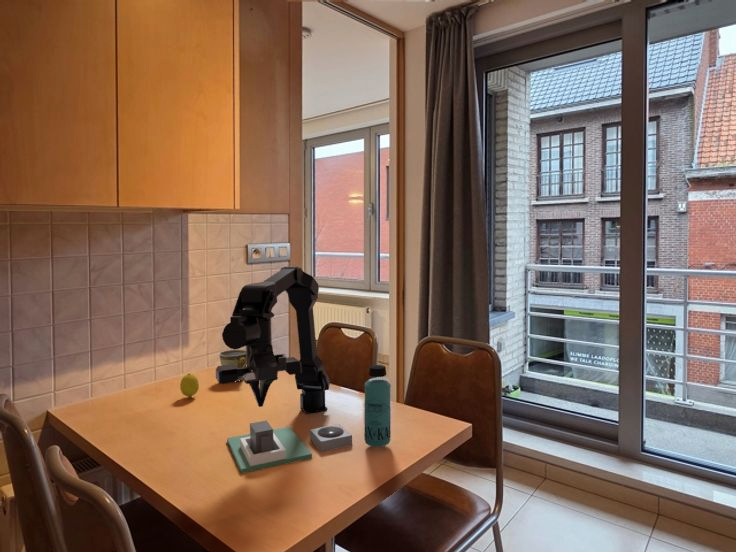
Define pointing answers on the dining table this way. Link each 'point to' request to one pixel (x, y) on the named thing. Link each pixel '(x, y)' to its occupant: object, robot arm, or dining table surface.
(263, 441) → the plug
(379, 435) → the beverage bottle
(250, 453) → the board
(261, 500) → the dining table surface
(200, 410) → the dining table surface
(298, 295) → the robot arm
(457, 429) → the dining table surface
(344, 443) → the grey square block
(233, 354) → the ceramic cup
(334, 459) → the dining table surface
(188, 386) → the lemon
